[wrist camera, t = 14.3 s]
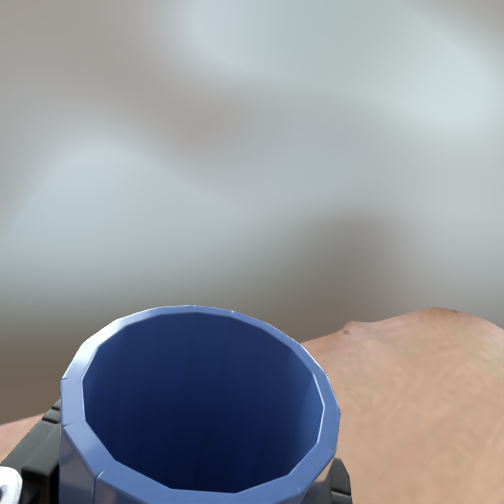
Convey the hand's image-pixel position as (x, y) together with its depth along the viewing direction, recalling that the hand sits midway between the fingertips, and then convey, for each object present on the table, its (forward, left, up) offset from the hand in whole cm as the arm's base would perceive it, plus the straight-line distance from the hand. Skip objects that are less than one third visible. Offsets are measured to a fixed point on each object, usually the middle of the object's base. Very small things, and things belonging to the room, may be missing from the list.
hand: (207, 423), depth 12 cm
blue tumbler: (-1, -2, -6) cm, 6 cm away
